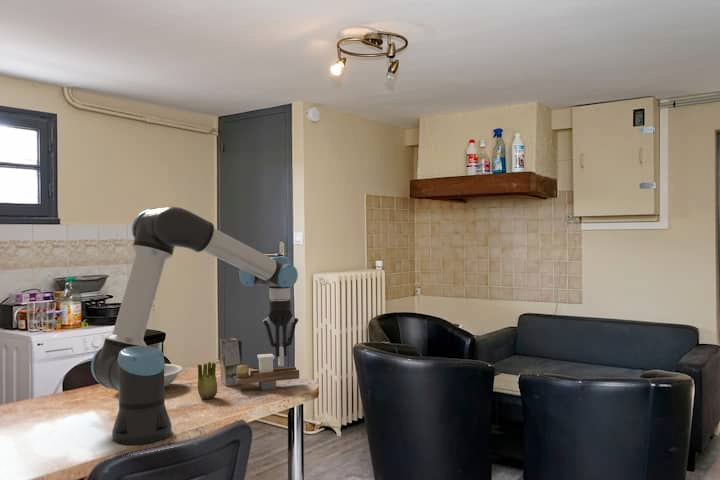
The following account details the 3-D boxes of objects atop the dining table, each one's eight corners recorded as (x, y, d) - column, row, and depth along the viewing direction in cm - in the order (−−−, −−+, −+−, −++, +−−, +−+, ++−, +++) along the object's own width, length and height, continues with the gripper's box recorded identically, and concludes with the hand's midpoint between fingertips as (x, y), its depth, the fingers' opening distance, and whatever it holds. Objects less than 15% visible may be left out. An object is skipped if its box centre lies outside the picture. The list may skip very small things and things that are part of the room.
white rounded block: (274, 376, 210) (274, 356, 210) (260, 377, 208) (259, 357, 208) (271, 372, 215) (271, 353, 215) (257, 374, 214) (257, 354, 214)
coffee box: (242, 384, 218) (242, 340, 218) (225, 386, 215) (224, 342, 215) (237, 379, 226) (236, 336, 226) (220, 381, 223) (219, 338, 223)
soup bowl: (191, 380, 225) (191, 363, 225) (170, 397, 201) (169, 378, 201) (128, 381, 225) (128, 363, 225) (99, 398, 201) (99, 378, 201)
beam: (299, 387, 212) (299, 363, 212) (237, 393, 205) (236, 368, 205) (295, 383, 219) (295, 359, 219) (234, 388, 212) (234, 364, 212)
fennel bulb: (196, 400, 197) (196, 363, 197) (202, 396, 202) (201, 360, 202) (214, 400, 197) (213, 363, 197) (218, 396, 202) (218, 360, 202)
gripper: (295, 297, 219) (296, 362, 219) (260, 299, 215) (261, 365, 215) (300, 299, 212) (301, 366, 212) (263, 301, 208) (264, 369, 208)
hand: (281, 365), depth 214 cm, fingers closed
